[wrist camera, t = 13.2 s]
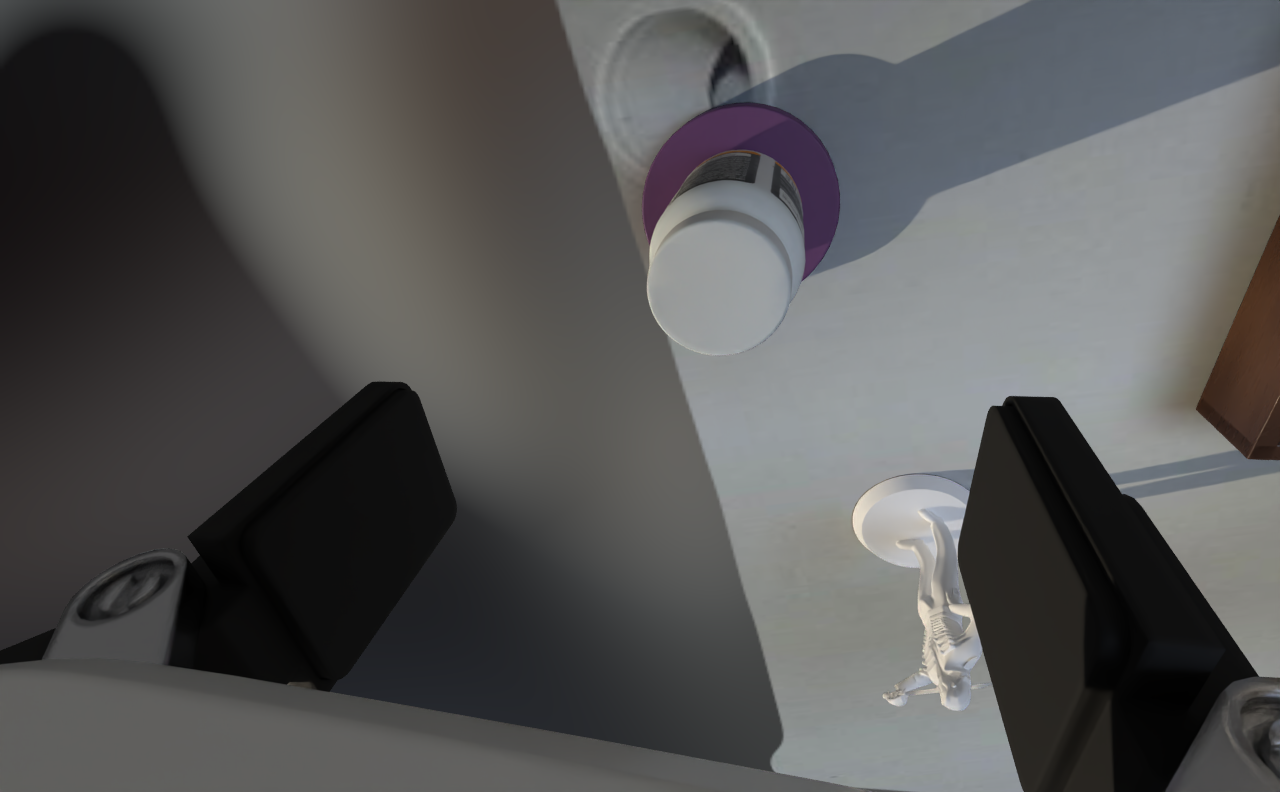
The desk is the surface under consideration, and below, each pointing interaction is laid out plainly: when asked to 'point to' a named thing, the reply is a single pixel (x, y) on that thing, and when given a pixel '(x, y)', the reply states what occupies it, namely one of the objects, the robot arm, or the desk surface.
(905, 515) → the figurine
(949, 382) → the desk surface
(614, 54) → the desk surface
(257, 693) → the robot arm
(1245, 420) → the rack
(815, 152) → the disc
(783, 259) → the pill bottle
